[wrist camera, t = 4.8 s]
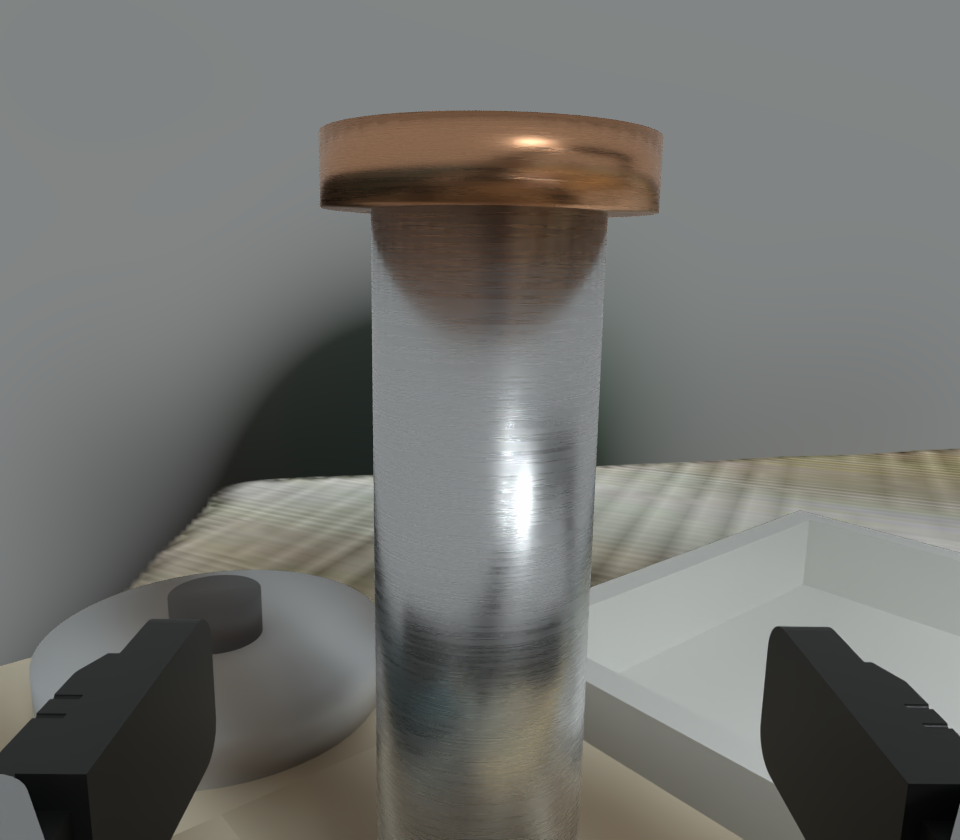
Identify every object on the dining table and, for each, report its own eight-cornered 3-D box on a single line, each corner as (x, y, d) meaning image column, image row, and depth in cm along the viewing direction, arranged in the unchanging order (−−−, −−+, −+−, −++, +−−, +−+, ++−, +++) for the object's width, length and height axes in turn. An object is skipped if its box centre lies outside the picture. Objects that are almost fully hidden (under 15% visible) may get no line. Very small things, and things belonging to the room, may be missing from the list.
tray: (791, 591, 38) (799, 510, 37) (1391, 800, 24) (1425, 676, 23) (483, 742, 26) (485, 626, 25) (1320, 1336, 12) (1386, 1116, 11)
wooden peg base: (323, 665, 31) (320, 505, 30) (951, 1151, 14) (1004, 839, 13) (-51, 796, 23) (-78, 588, 22) (380, 2142, 7) (371, 1630, 6)
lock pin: (486, 951, 18) (503, 163, 15) (659, 1122, 15) (734, 139, 11) (293, 1086, 15) (257, 137, 12) (451, 1344, 12) (467, 94, 8)
